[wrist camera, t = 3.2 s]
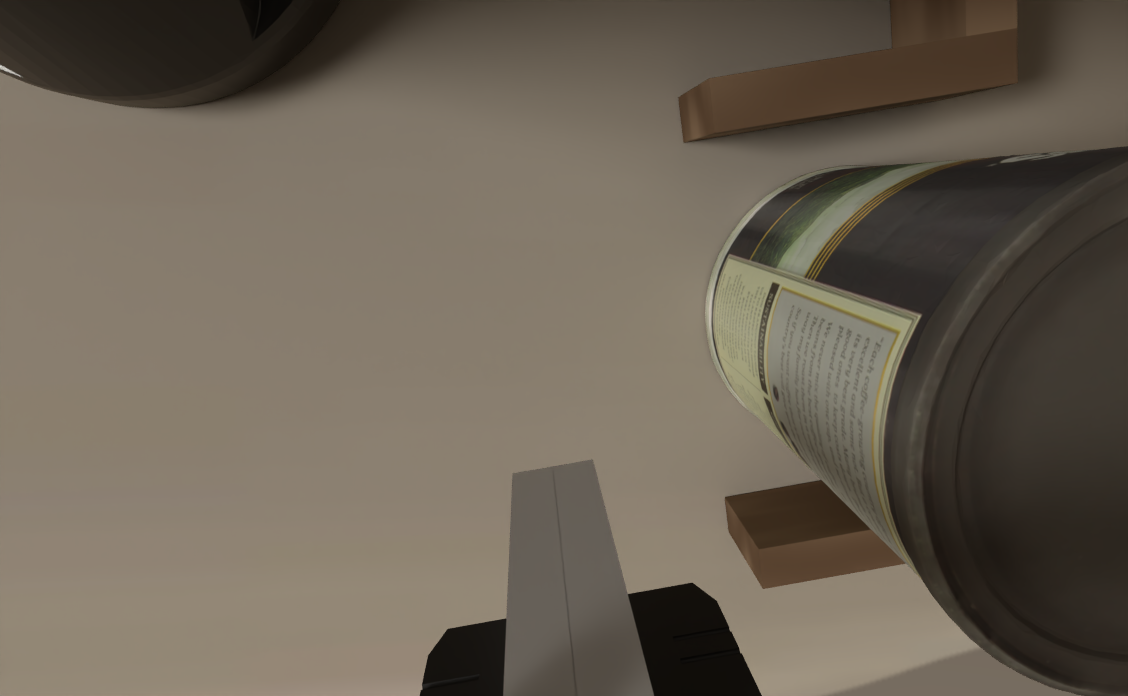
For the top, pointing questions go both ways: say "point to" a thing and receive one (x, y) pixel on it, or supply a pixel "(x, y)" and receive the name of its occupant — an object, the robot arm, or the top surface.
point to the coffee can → (957, 382)
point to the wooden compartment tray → (822, 91)
